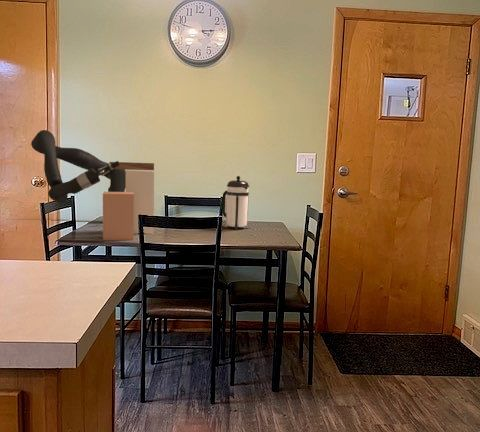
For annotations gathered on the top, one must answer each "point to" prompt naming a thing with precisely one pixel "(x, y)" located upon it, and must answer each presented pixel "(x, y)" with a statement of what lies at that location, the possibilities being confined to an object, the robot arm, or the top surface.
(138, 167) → the walnut bar
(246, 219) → the coffee press
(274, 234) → the top surface
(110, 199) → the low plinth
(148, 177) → the tall plinth
